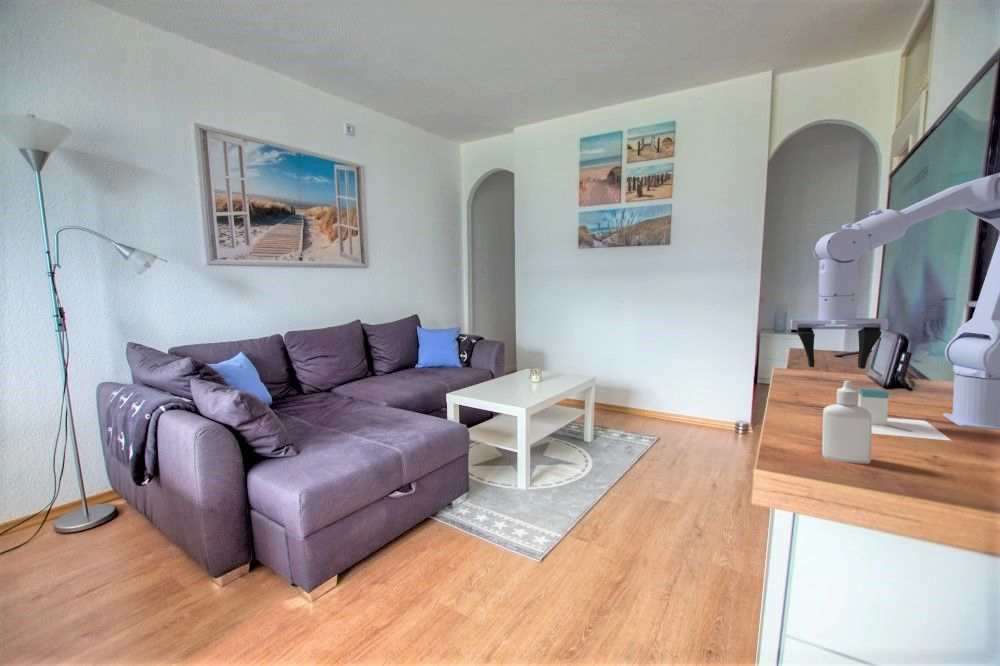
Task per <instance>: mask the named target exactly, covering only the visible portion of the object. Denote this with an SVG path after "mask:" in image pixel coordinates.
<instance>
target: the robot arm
mask: <svg viewBox="0 0 1000 666" xmlns="http://www.w3.org/2000/svg"><path fill="white" fill-rule="evenodd" d="M951 210H953V211H956V212H957V211H962V210H963V211H965V212H966V213H967V214H969V215H972V216H974V217H975V218H978V219H981V220H982V221H984V222H986V223H988V224H990V225H992V226H993V227H994V228H995V229H997V231H999V232H1000V172H998V173H994V174H991V175H987V176H984V177H980V178H977V179H976V178H975V179H973V180H970V181H967V182H963V183H961V184H958V185H953V186H952V187H947V188H946V189H943V190H942V191H939V192H937V193H935V194H933V195H931V196H929V197H927V198H924V199H923V200H921V201H918V202H916V203H914V204H912V205H909V206H907V207H906V208H904V209H901V210H895V209H890V208H888V209H883V210H882V209H881V208H880V209H876V210H873V211H871V212H869V213H868V215H869V216H868V217H866V218H863V219H861V220H859V221H857V222H854V223H853V224H851V223H850V222H848V223H846V224H843V225H842V226H841V228H842V229H841V230H839V231H836V232H832V233H827V234H825V235H823V236H821V238H819V240H817V242H816V244H815V248H814V249H812V253H813V256H814V258H815V259H816V260H817V261H818V263H819V264H818V265H819V266H818V267H819V268H818V312H817V313H818V315H817V316H818V317H817V318H798V319H797V318H795V319H794V318H793V319H790V326H789V327H790V329H791V330H793V331H795V330H796V333H797V335H798V337H799V339H800V340H801V343H802V346H803V347H804V348H803V349H804V351H805V353H806V357H807V363H808V365H807V366H808V367H810V368H814V367H815V352H814V351H815V350H814V349H815V348H814V346H815V337H816V336H815V335H816V334H815V333H814V330H858V332H857V335H858V355H857V356H858V357H857V368H859V369H860V370H865V369H866V366H867V362H868V359H869V356H870V355H871V353H872V352H871V351H872V350H873V348H874V346H875V345H876V343H877V341H878V340H879V339H880V338H881V336H882V330H883V331H884V330H889V318H884V317H883V318H882V317H881V318H877V317H876V318H871V317H869V318H867V317H865V318H864V317H863V318H861V317H860V318H859V317H857V303H858V301H857V300H858V299H857V298H858V261H859V260H858V259H860V258H861V257H862V256H863V254H865V253H867V252H869V251H872V250H874V249H877V248H880V247H881V246H884V245H886V244H889V243H891V242H893V241H896V240H898V239H900V238H903V237H904V236H905V234H906V233H907V230H908V228H909V227H910V226H913V225H915V224H918V223H920V222H923V221H926V220H928V219H931V218H933V217H935V216H939V215H941V214H943V213H946V212H948V211H951ZM826 325H827V326H826ZM829 325H830V326H829ZM831 325H832V326H831ZM835 325H836V326H835ZM838 325H845V326H838ZM847 325H848V326H847ZM944 357H945V359H946V361H947V363H949V364H950V365H952V372H953V373H954V374H953V375H954V376H953V394H952V395H953V398H952V399H953V400H952V413H946V412H943V413H942V416H944V417H945V418H947V419H948V420H950V421H951V422H953V423H954V424H956V425H958V426H959V427H965V428H966V427H967V428H980V429H992V430H1000V234H999V236H998V240H997V242H996V245H995V248H994V251H993V254H992V257H991V260H990V263H989V265H988V269H987V272H986V275H985V279H984V282H983V284H982V288H981V290H980V293H979V296H978V299H977V303H976V306H975V309H974V312H973V314H972V318H971V319H969V320H968V321H966V322H965V323H963V324H962V325H961V326H959V327H958V328H957V331H956V334H955V336H953V338H952V339H951V340H950V341H949V342H948V343H947V344H946V346H945V348H944Z"/></svg>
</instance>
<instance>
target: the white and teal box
mask: <svg viewBox="0 0 1000 666" xmlns="http://www.w3.org/2000/svg"><path fill="white" fill-rule="evenodd" d="M857 391H858V404H857V406H859V407H862V408H865V409H867V410H868V411H869V412H870V413H871V416H872V424H876V425H887V418H888V411H889V410H888V408H889V407H888V406H889V405H888V403H889V393H890V392H889V391H887V390H885V389H884V388H877V387H876V388H873V387H872V388H871V387H858V390H857Z"/></svg>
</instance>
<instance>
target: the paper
mask: <svg viewBox="0 0 1000 666" xmlns="http://www.w3.org/2000/svg"><path fill="white" fill-rule="evenodd" d="M873 434H874V435H883V436H884V435H885V436H895V437H905V438H917V439H918V438H919V439H929V440H939V441H941V440H942V441H953V440H952V439H951V438H949V437H948V436H947V435H945V434H944V433H943V432H941V431H939V429H937V428H935V427H934V426H933V425H932V424H930V423H929V422H927V421H926V420H921V419H909V418H908V419H907V418H897V417H896V418H895V417H894V418H893V417H887V425H876V424H872V434H871V435H873Z"/></svg>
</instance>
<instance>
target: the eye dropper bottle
mask: <svg viewBox="0 0 1000 666" xmlns="http://www.w3.org/2000/svg"><path fill="white" fill-rule="evenodd" d="M858 401H859V393H858V390H856V389H854V388H853V386H852V382H851V381H850V380H844V381H843V386H842V387H841V388H837V390H836V404H829V405H827V406H825V407H824V408H823V411H822V445H821V446H822V447H821V450H822V451H821V453H822V456H823V458H825V459H829V460H833V461H838V462H844V463H851V464H868V465H869V464H870V463H871V461H872V435H873V434H872V416H871V413H870V412H869V411H868V410H867V409H865V408H862V407H859V406H858Z"/></svg>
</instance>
